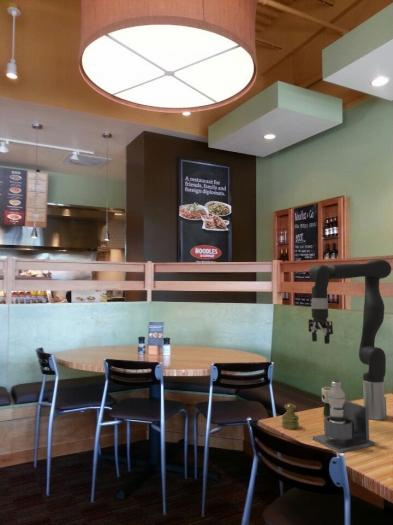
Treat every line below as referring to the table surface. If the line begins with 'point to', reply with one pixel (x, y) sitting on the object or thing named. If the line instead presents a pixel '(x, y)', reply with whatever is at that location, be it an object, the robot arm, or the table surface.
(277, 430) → the table surface
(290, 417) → the brass knob
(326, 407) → the character mug
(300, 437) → the table surface
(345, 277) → the robot arm
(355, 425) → the cup bracket
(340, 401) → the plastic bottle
